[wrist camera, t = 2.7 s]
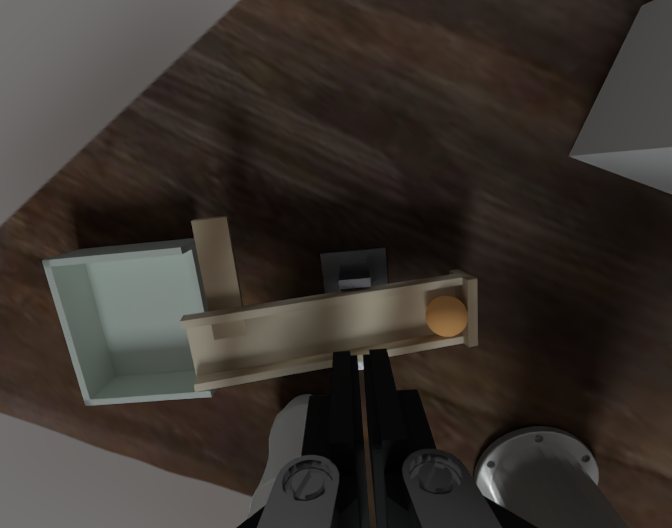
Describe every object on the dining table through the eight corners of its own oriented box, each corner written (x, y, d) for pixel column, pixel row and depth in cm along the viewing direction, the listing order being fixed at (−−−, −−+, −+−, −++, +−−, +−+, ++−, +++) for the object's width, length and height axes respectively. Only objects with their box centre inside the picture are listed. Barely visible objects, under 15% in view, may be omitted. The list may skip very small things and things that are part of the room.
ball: (448, 323, 32) (477, 336, 30) (418, 333, 31) (445, 348, 28) (446, 287, 32) (477, 296, 29) (415, 296, 30) (444, 307, 27)
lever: (456, 188, 30) (476, 189, 28) (459, 331, 33) (477, 346, 31) (167, 222, 27) (155, 228, 24) (200, 377, 30) (193, 399, 27)
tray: (226, 371, 39) (211, 396, 35) (114, 379, 40) (85, 405, 36) (201, 237, 36) (180, 247, 31) (78, 249, 36) (41, 260, 32)
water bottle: (340, 448, 41) (328, 852, 17) (274, 441, 41) (168, 833, 17) (348, 390, 39) (348, 750, 15) (279, 382, 39) (169, 728, 15)
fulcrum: (384, 246, 35) (393, 266, 28) (391, 335, 38) (400, 374, 31) (320, 252, 36) (313, 273, 29) (330, 340, 38) (326, 379, 31)
